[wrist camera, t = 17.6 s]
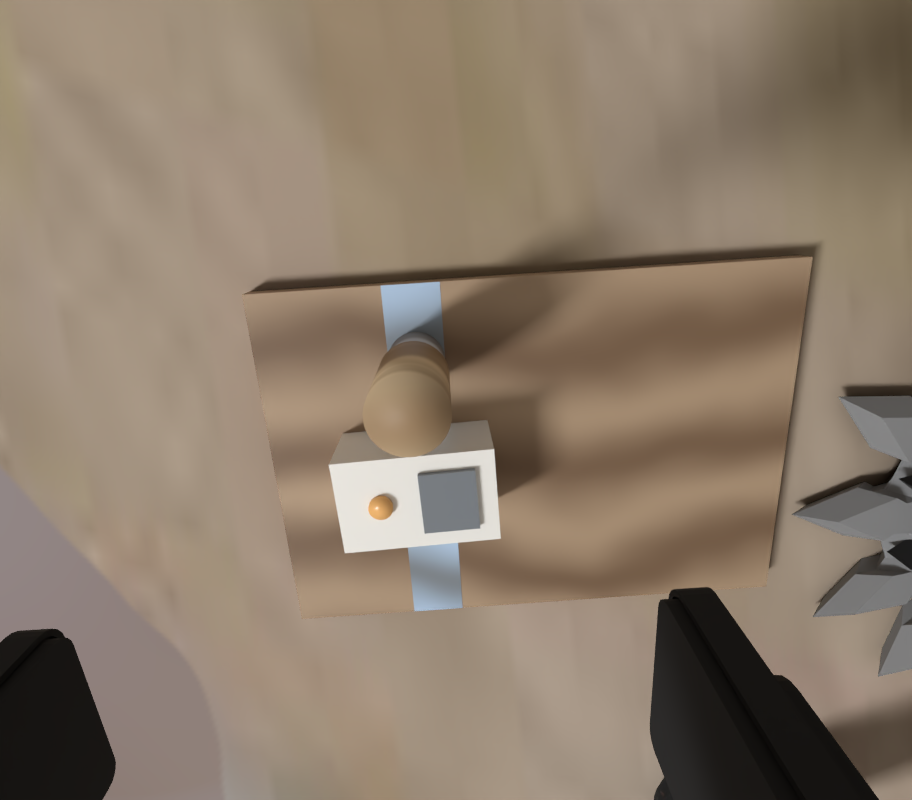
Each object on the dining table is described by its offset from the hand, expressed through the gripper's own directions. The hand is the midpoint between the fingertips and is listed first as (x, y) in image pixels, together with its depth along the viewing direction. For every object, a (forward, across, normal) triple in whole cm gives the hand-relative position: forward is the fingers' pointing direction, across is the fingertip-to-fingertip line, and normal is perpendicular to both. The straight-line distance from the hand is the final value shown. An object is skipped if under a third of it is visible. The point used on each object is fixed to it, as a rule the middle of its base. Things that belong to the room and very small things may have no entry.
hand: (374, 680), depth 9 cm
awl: (+21, 0, 0) cm, 21 cm away
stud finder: (+21, +1, +7) cm, 22 cm away
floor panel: (+22, -6, +6) cm, 24 cm away
